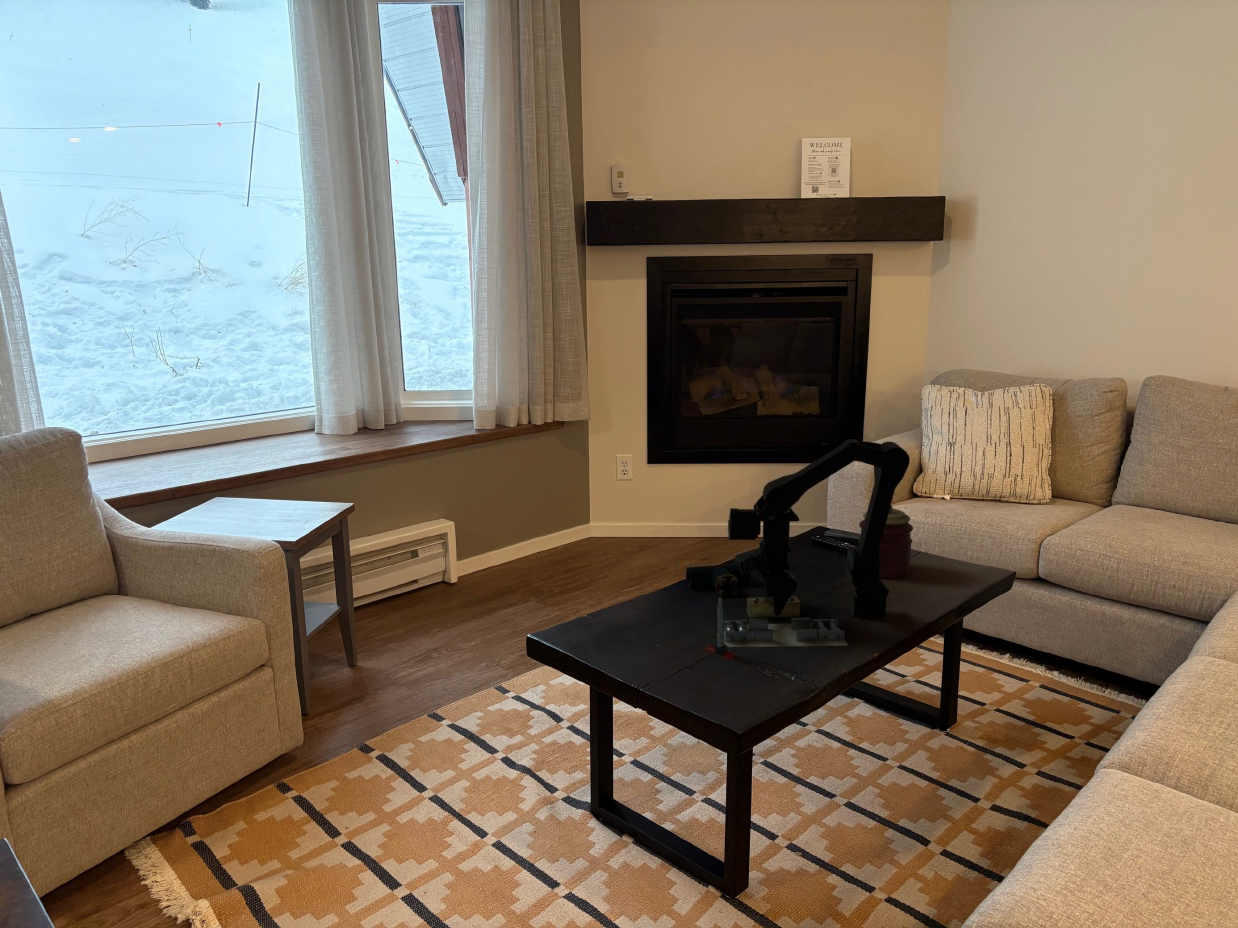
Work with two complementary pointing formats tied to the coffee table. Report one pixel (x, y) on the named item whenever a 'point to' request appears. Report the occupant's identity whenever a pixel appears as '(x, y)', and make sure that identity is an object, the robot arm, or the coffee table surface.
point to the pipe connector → (717, 578)
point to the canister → (894, 545)
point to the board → (783, 639)
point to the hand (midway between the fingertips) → (773, 606)
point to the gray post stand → (720, 635)
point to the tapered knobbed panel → (771, 607)
